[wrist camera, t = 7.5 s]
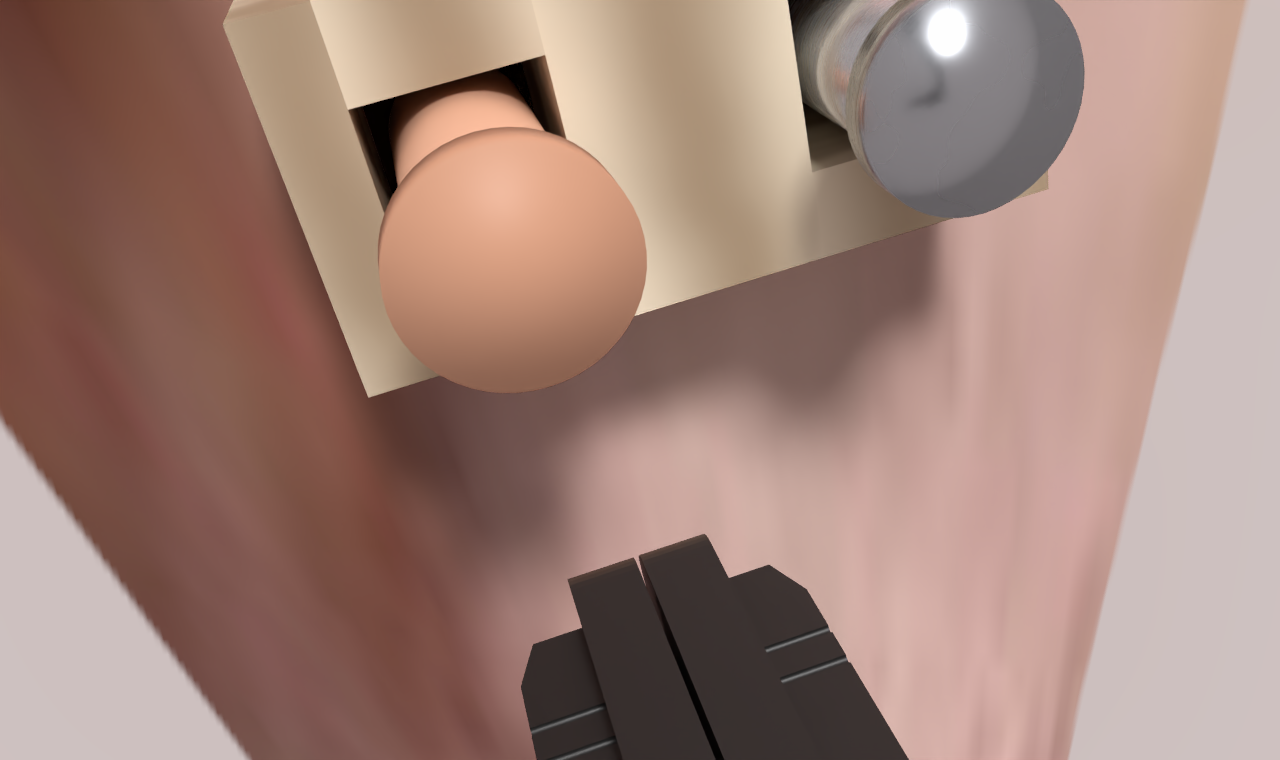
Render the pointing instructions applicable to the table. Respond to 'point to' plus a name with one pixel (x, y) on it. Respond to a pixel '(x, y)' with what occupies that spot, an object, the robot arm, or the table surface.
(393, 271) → the terracotta plunger
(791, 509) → the table surface
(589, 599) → the robot arm
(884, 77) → the steel plunger
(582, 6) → the beige rectangular block
